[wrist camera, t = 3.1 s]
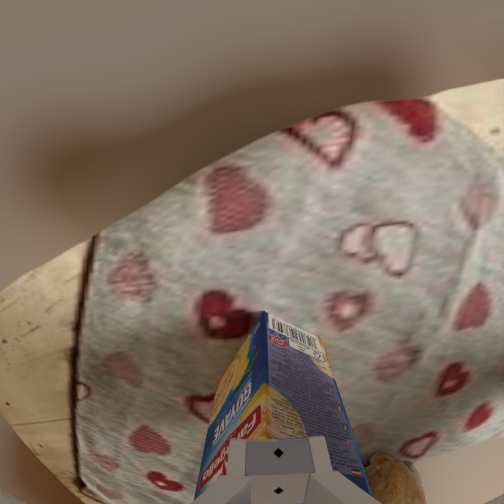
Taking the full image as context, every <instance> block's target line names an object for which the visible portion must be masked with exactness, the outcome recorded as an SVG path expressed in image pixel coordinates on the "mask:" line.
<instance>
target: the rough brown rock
mask: <svg viewBox="0 0 504 504" xmlns="http://www.w3.org/2000/svg"><path fill="white" fill-rule="evenodd" d="M369 460H370V465H368V466H365V467H363V468H364V471H365V474H366V477H367V481H368V484H369V487H370V491H371V494H372V497H373V498H374V499H376V500H377V501H379V502H380V503H382V504H426V500H425V496H424V491H423V487H422V483H421V479H420V476H419V473H418V472H417V470H416V469H415V467H414V465H413V464H412V462H409V461H403V462H401V461H399V460H395V459H394V458H393V457H392V456H390V455H388V454H386V453H384V452H377V453H376V454H375V455H374V456H372V457H371V458H370V459H369Z"/></svg>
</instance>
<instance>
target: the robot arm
mask: <svg viewBox="0 0 504 504" xmlns="http://www.w3.org/2000/svg"><path fill="white" fill-rule="evenodd" d="M301 503H304V504H382V503H380V502H379V501H377V500H376V499H374V498H373V497H372V496H370V495H369V494H367V493H366V492H365V491H363V490H362V489H361V488H359V487H358V486H357V485H355V484H354V483H353V482H351V481H350V480H349V479H347V478H346V477H345V476H343V475H342V474H341V473H339V472H338V471H333V470H332V466H331V462H330V458H329V454H328V449H327V445H326V441H325V438H324V436H314V437H308V438H307V437H300V438H284V439H247V440H246V439H233V438H231V439H230V442H229V453H228V463H227V473H226V475H221V476H220V477H219V478H218V479H217V480H216V481H215V482H214V483H213V484H212V485H211V486H210V487H209V488H208V489H206V490H205V491H204V492H203V493H202V494H201V495H200V496H199V497H198V498H196V499H195V500H194V501H193V502H192V503H191V504H301ZM0 504H25V503H23V502H21V501H19V500H17V499H15V498H13V497H11V496H9V495H8V494H6V493H4V492H2V491H0ZM485 504H504V494H502V495H500V496H499V497H497V498H495V499H493V500H491V501H489V502H487V503H485Z"/></svg>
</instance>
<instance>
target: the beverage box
mask: <svg viewBox="0 0 504 504" xmlns="http://www.w3.org/2000/svg"><path fill="white" fill-rule="evenodd" d="M314 436H324V438H325V441H326V445H327V449H328V454H329V458H330V462H331V466H332V470H333V471H338V472H339V473H341V474H342V475H343V476H345V477H346V478H347V479H349V480H350V481H351V482H353V483H354V484H355V485H357V486H358V487H359V488H361V489H362V490H363V491H365V492H366V493H367V494H369V495H370V496H372V494H371V491H370V487H369V484H368V481H367V477H366V474H365V471H364V468H363V464H362V461H361V458H360V455H359V452H358V448H357V445H356V442H355V439H354V436H353V433H352V430H351V426H350V423H349V420H348V417H347V414H346V411H345V408H344V405H343V402H342V399H341V396H340V393H339V390H338V387H337V384H336V381H335V378H334V375H333V373H332V370H331V367H330V364H329V361H328V358H327V355H326V352H325V349H324V347H323V344H322V341H321V338H319V337H317V336H314V335H312V334H310V333H308V332H306V331H304V330H302V329H300V328H298V327H296V326H294V325H292V324H290V323H287V322H285V321H283V320H281V319H279V318H277V317H275V316H273V315H271V314H269V313H267V312H265V311H263V313H262V314H261V316H260V318H259V319H258V321H257V322H256V324H255V326H254V327H253V329H252V331H251V332H250V334H249V335H248V337H247V339H246V340H245V342H244V343H243V345H242V347H241V348H240V350H239V351H238V353H237V355H236V356H235V358H234V359H233V361H232V363H231V364H230V366H229V367H228V369H227V370H226V372H225V374H224V375H223V377H222V378H221V380H220V381H219V383H218V384H217V388H216V393H215V397H214V402H213V407H212V412H211V417H210V422H209V427H208V432H207V437H206V442H205V447H204V452H203V457H202V462H201V467H200V472H199V477H198V482H197V487H196V492H195V497H194V500H195V499H196V498H198V497H199V496H200V495H201V494H202V493H203V492H204V491H205V490H206V489H208V488H209V487H210V486H211V485H212V484H213V483H214V482H215V481H216V480H217V479H218V478H219V477H220V476H221V475H226V473H227V463H228V453H229V442H230V439H231V438H233V439H246V440H247V439H284V438H300V437H307V438H308V437H314ZM301 504H304V503H301Z"/></svg>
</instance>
